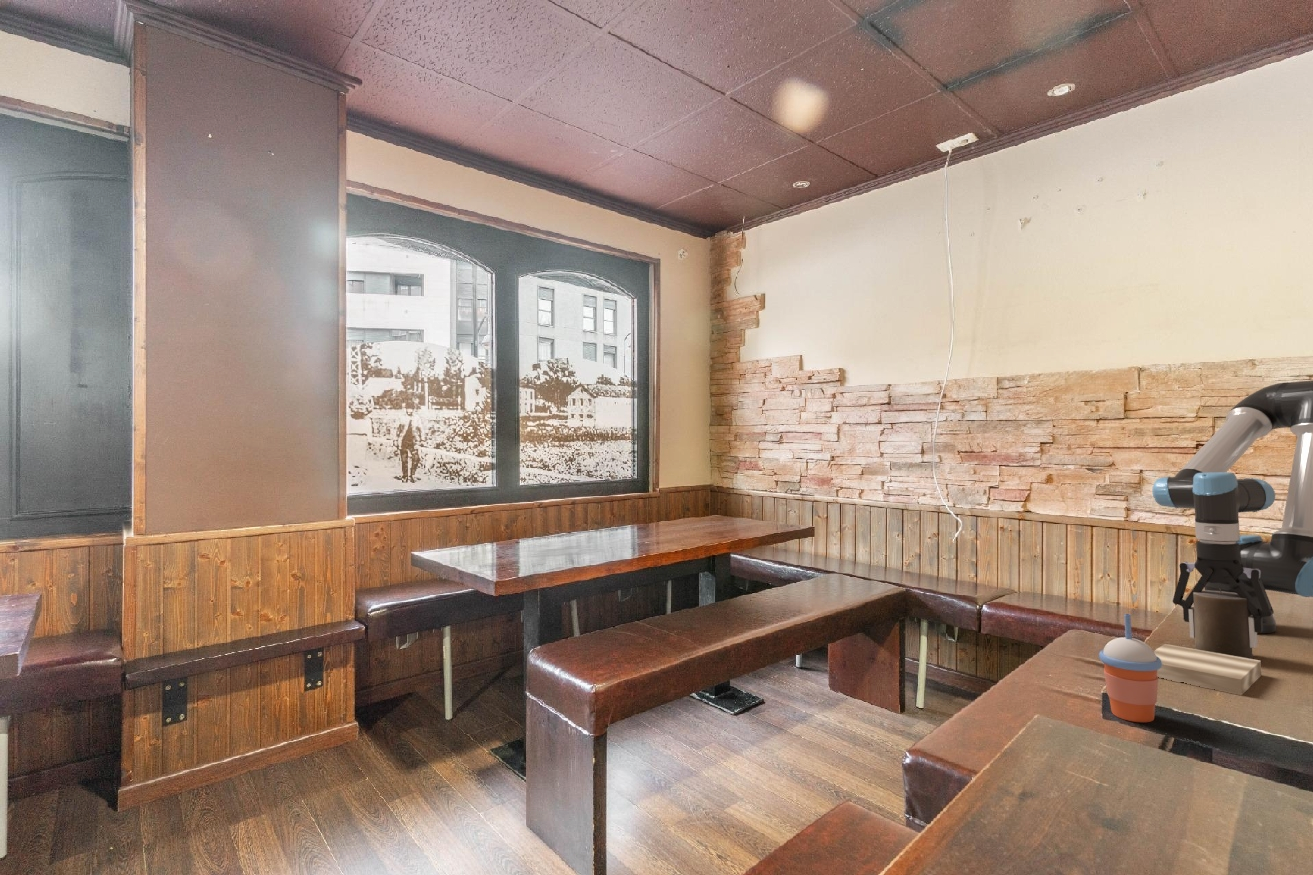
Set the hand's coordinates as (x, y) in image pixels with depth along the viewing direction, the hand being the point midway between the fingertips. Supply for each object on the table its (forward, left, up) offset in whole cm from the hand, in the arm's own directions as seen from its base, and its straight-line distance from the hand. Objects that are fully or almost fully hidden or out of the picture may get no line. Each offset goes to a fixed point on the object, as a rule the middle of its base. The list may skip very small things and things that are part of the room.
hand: (1222, 641), depth 145 cm
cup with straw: (+51, -2, -3) cm, 51 cm away
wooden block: (+18, 0, -3) cm, 18 cm away
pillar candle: (0, 0, -3) cm, 3 cm away
